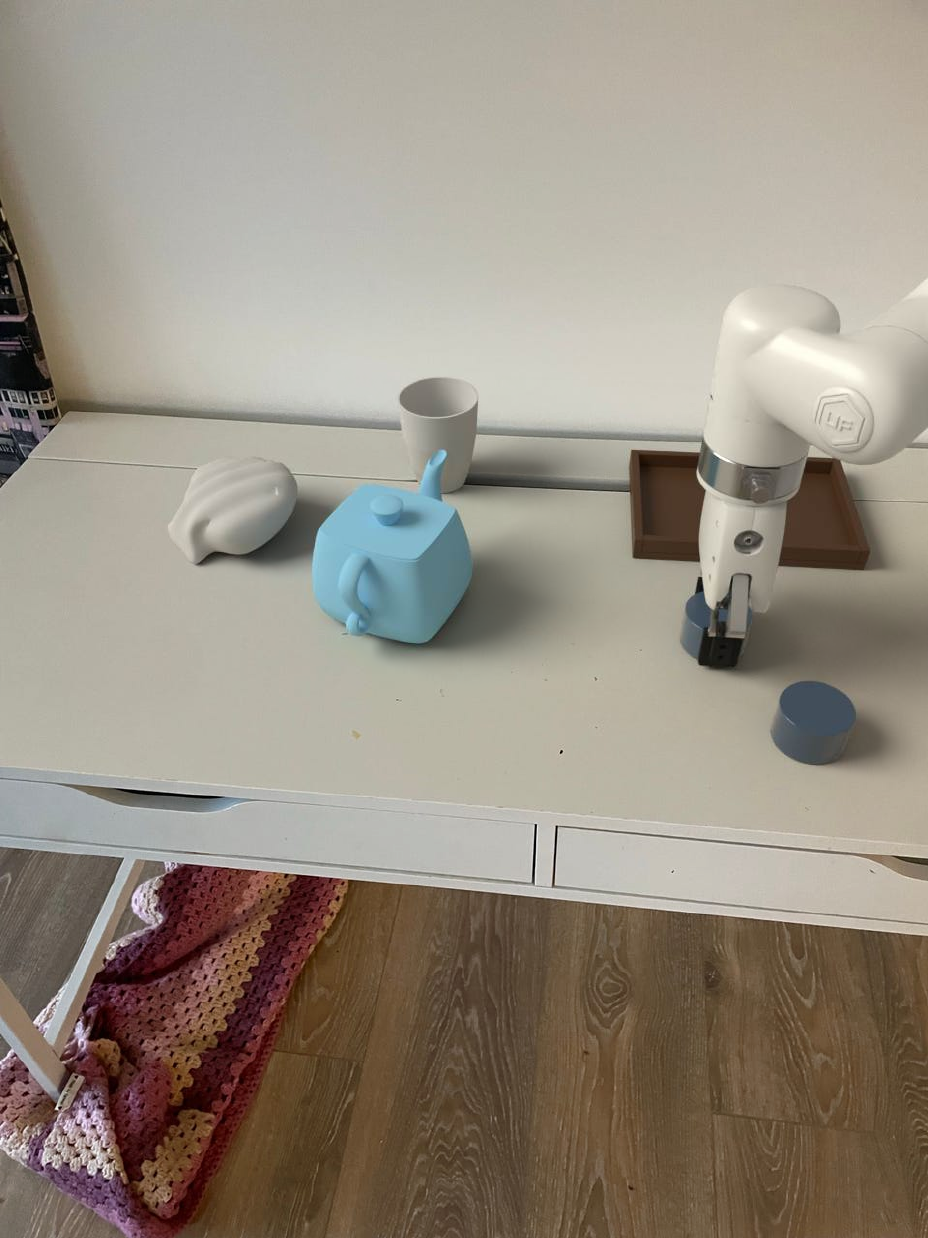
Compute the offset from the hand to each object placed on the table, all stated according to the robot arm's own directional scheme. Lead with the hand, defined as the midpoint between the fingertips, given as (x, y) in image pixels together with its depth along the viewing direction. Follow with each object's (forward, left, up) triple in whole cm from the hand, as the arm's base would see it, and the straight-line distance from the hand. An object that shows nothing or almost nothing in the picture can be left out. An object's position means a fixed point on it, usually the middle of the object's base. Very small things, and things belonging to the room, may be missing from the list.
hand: (713, 636), depth 81 cm
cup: (+33, -11, -1) cm, 35 cm away
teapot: (+27, +7, -1) cm, 28 cm away
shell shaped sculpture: (+47, +6, -1) cm, 48 cm away
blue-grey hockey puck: (-10, +7, -1) cm, 12 cm away
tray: (+3, -19, -1) cm, 19 cm away
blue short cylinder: (0, 0, -1) cm, 1 cm away
